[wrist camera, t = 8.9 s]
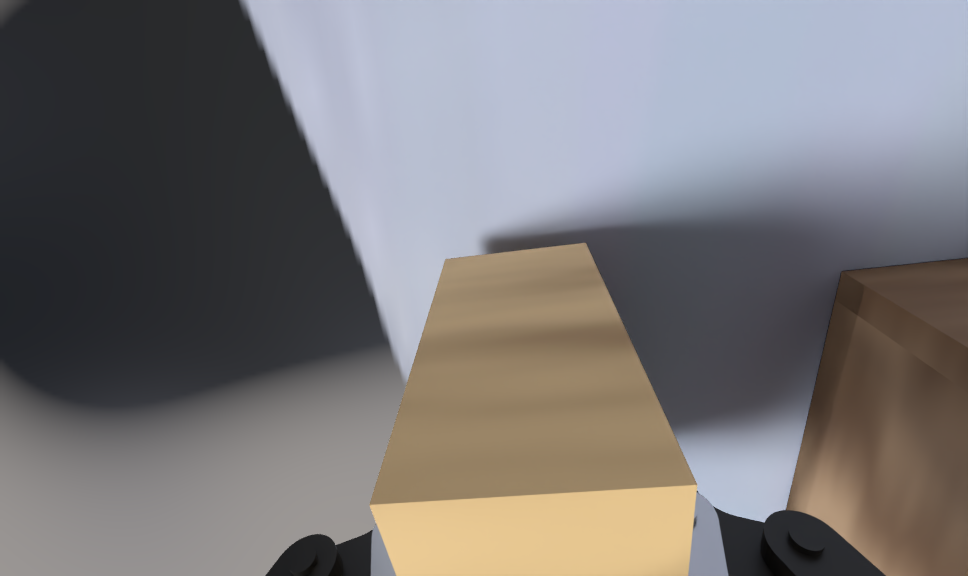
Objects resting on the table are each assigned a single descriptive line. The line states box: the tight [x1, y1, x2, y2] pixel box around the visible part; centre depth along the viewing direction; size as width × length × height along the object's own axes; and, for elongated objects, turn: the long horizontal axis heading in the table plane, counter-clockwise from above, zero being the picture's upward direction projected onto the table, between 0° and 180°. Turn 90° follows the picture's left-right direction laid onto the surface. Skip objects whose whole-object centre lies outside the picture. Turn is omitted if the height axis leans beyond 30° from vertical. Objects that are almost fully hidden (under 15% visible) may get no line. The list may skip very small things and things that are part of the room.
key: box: [370, 243, 697, 576], centre depth 11 cm, size 9×4×8 cm, turn 8°
